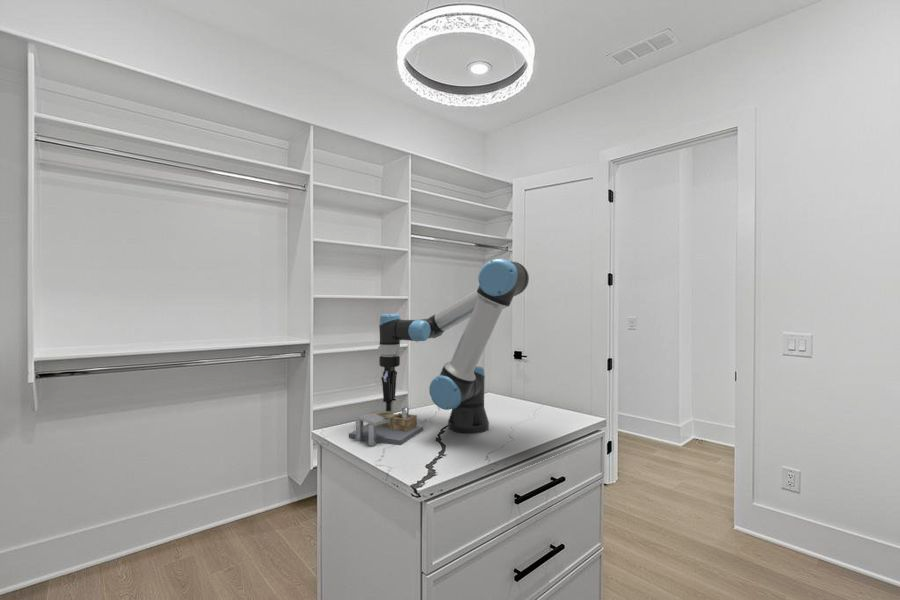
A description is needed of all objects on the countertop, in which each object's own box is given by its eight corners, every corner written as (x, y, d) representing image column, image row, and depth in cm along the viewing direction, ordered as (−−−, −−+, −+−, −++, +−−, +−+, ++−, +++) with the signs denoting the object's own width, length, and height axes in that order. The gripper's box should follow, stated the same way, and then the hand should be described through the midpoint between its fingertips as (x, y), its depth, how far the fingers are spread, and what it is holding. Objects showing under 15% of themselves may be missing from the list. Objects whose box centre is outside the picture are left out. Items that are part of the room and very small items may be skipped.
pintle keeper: (409, 431, 158) (409, 407, 158) (383, 447, 141) (383, 421, 141) (378, 427, 163) (378, 404, 163) (349, 443, 146) (349, 417, 146)
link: (416, 426, 160) (416, 415, 160) (408, 431, 154) (408, 420, 153) (375, 421, 166) (375, 410, 166) (365, 426, 160) (365, 415, 160)
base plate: (422, 430, 160) (422, 426, 160) (401, 444, 144) (401, 440, 144) (374, 424, 167) (374, 420, 167) (348, 437, 151) (348, 433, 151)
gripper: (384, 353, 171) (384, 414, 171) (374, 357, 158) (374, 423, 158) (403, 353, 170) (403, 414, 170) (394, 357, 157) (394, 424, 157)
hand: (389, 418), depth 164 cm, fingers closed
